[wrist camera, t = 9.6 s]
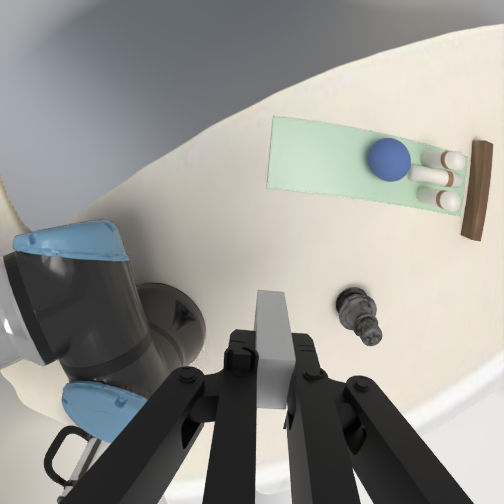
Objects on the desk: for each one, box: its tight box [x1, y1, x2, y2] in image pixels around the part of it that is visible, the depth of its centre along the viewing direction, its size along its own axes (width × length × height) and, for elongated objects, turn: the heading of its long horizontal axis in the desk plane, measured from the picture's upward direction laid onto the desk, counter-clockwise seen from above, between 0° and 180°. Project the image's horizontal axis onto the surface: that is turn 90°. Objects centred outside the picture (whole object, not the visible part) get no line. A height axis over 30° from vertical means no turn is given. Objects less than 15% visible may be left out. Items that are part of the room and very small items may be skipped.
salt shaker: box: [336, 287, 382, 346], centre depth 40 cm, size 6×6×12 cm
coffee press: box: [44, 426, 110, 504], centre depth 43 cm, size 17×16×30 cm
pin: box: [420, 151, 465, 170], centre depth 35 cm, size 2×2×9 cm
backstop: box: [461, 141, 493, 241], centre depth 39 cm, size 2×16×4 cm, turn 175°
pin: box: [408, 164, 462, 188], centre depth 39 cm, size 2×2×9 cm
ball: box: [368, 138, 411, 182], centre depth 37 cm, size 6×6×6 cm
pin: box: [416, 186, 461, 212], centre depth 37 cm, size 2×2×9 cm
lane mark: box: [267, 116, 468, 216], centre depth 40 cm, size 32×10×1 cm, turn 85°
